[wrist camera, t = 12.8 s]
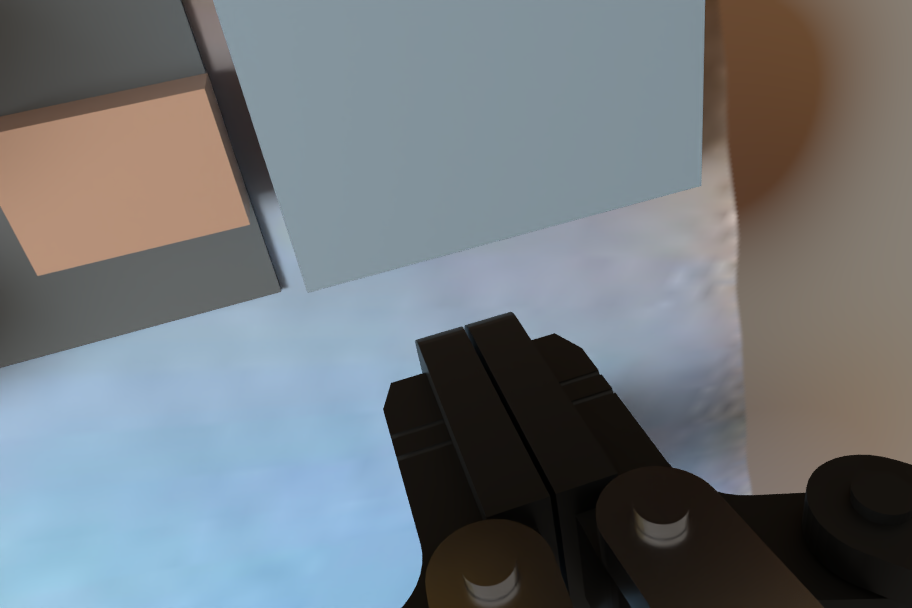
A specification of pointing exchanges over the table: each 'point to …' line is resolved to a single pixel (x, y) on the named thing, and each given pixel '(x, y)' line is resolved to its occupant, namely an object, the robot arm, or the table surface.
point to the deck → (463, 118)
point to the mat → (133, 275)
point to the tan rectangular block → (119, 174)
